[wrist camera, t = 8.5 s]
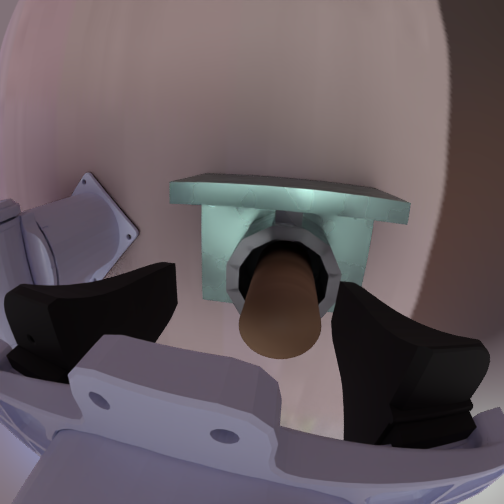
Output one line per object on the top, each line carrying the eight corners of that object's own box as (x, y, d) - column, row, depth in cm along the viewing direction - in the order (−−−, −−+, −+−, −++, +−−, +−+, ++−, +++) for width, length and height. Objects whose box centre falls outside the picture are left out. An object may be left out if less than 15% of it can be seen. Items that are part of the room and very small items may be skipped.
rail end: (281, 300, 21) (275, 369, 14) (246, 263, 21) (222, 322, 13) (321, 268, 20) (337, 331, 13) (286, 229, 20) (284, 274, 12)
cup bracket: (353, 308, 23) (370, 359, 16) (205, 294, 24) (178, 340, 18) (374, 188, 19) (410, 203, 13) (205, 173, 21) (169, 181, 14)
